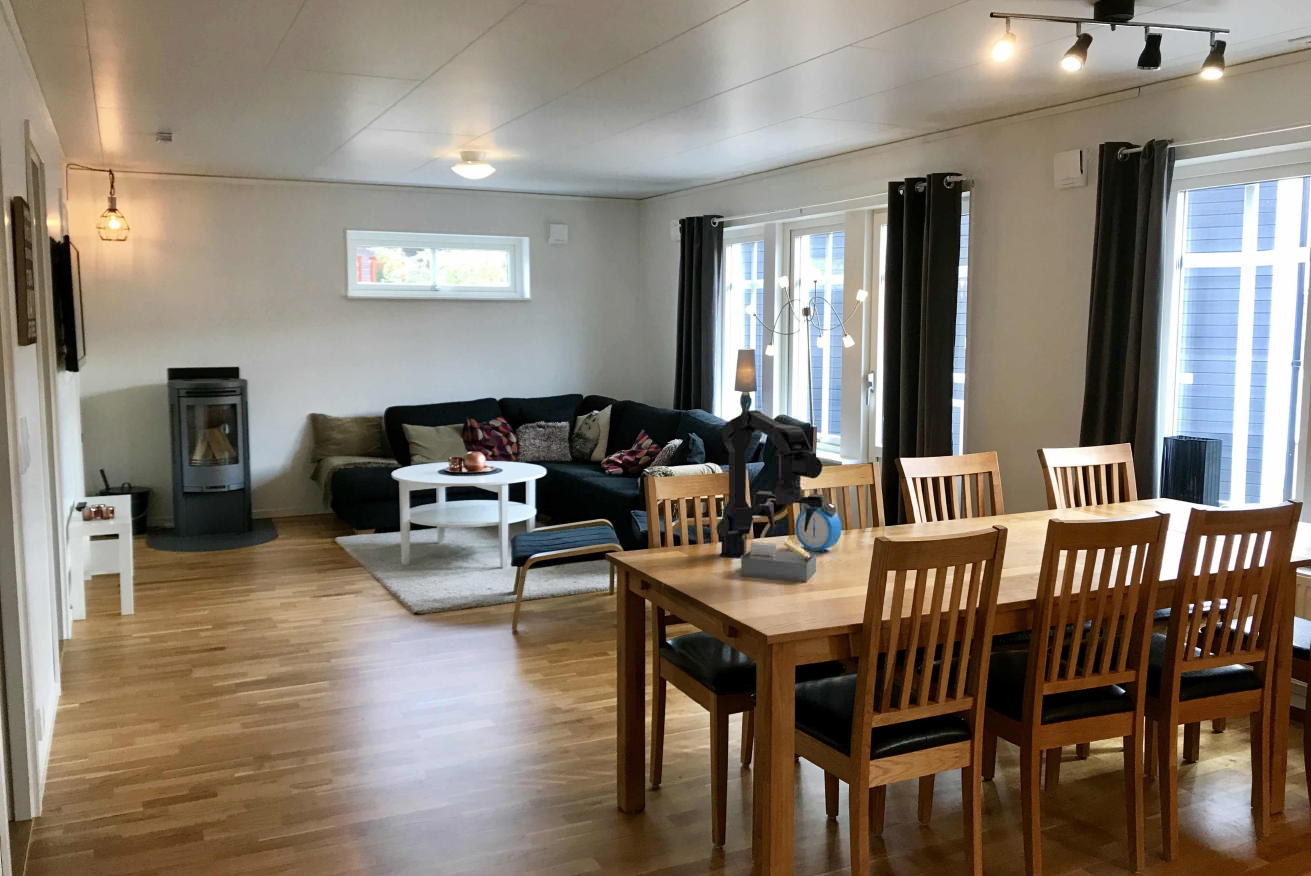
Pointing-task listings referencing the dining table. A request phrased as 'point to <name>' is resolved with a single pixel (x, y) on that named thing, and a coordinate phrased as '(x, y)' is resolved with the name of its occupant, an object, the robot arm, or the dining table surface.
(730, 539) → the robot arm
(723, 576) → the dining table surface
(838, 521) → the alarm clock
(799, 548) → the brass latch
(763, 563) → the block
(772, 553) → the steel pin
